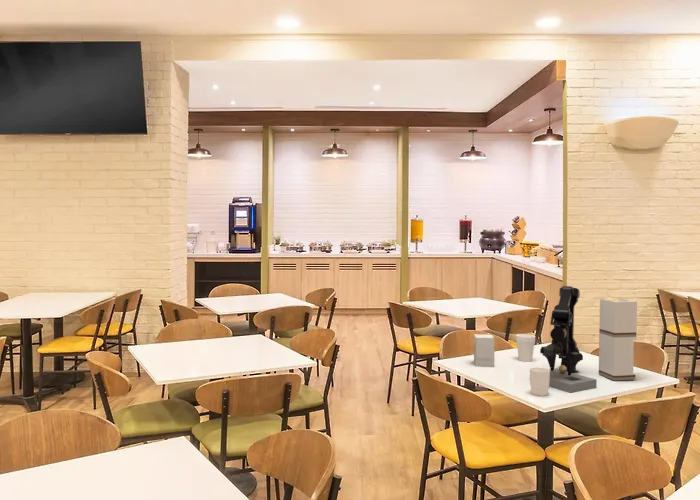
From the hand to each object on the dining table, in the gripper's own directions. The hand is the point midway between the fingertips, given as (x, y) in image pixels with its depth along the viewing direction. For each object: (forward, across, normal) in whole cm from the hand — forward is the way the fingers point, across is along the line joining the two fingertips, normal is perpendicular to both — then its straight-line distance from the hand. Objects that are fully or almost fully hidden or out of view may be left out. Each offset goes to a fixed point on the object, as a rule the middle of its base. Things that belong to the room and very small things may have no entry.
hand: (560, 373), depth 249 cm
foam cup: (+5, -38, +18) cm, 42 cm away
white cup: (+5, +7, -20) cm, 22 cm away
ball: (-1, -3, +4) cm, 5 cm away
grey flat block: (+4, +1, 0) cm, 5 cm away
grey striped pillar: (+5, +4, +32) cm, 32 cm away
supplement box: (+5, -40, -8) cm, 41 cm away
